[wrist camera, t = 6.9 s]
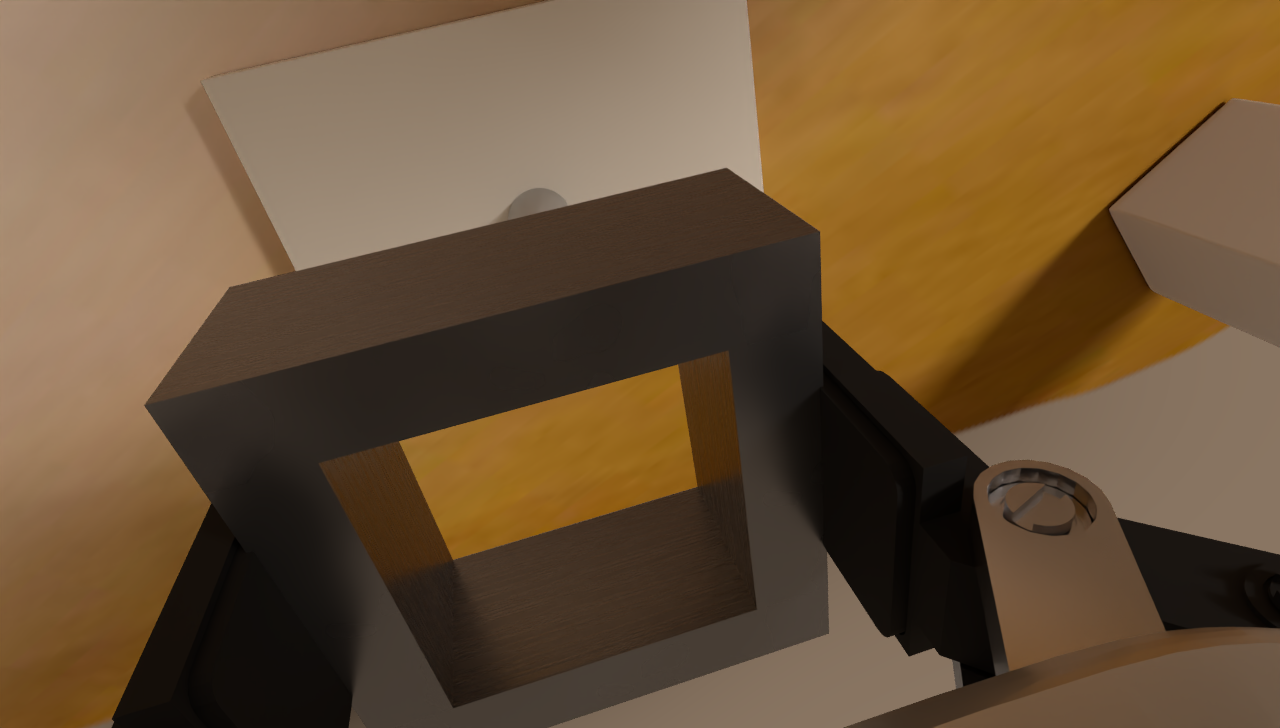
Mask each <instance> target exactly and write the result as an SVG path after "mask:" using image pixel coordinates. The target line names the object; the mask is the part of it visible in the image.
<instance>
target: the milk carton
mask: <svg viewBox="0 0 1280 728" xmlns="http://www.w3.org/2000/svg"><path fill="white" fill-rule="evenodd" d="M1109 211H1110V214H1111V216H1112V218H1113V220H1114V222H1115V224H1116V225H1117V227H1118V229H1119V231H1120V233H1121V235H1122V237H1123V239H1124V241H1125V242H1126V244H1127V246H1128V248H1129V250H1130V252H1131V254H1132V256H1133V257H1134V259H1135V261H1136V263H1137V265H1138V267H1139V269H1140V271H1141V273H1142V274H1143V276H1144V278H1145V280H1146V282H1147V284H1148V286H1149V287H1150V289H1151V290H1152V291H1153V292H1155V293H1158V294H1160V295H1162V296H1164V297H1167V298H1169V299H1171V300H1173V301H1176V302H1178V303H1180V304H1182V305H1185V306H1187V307H1189V308H1191V309H1194V310H1196V311H1198V312H1200V313H1203V314H1205V315H1207V316H1209V317H1212V318H1214V319H1216V320H1219V321H1221V322H1223V323H1225V324H1228V325H1230V326H1232V327H1234V328H1237V329H1239V330H1241V331H1244V332H1246V333H1248V334H1250V335H1252V336H1255V337H1257V338H1259V339H1262V340H1264V341H1266V342H1268V343H1271V344H1273V345H1275V346H1277V347H1280V105H1277V104H1270V103H1263V102H1256V101H1250V100H1243V99H1235V98H1233V99H1231V100H1229V101H1228V102H1227V103H1226V104H1225V105H1224V106H1223V107H1221V108H1220V109H1219V110H1218V111H1217V112H1216V113H1215V114H1214V115H1212V116H1211V117H1210V118H1209V119H1208V120H1207V121H1206V122H1205V123H1204V124H1202V125H1201V126H1200V127H1199V128H1198V129H1197V130H1196V131H1195V132H1193V133H1192V134H1191V135H1190V136H1189V137H1188V138H1187V139H1186V140H1185V141H1183V142H1182V143H1181V144H1180V145H1179V146H1178V147H1177V148H1176V149H1174V150H1173V151H1172V152H1171V153H1170V154H1169V155H1168V156H1167V157H1166V158H1164V159H1163V160H1162V161H1161V162H1160V163H1159V164H1158V165H1157V166H1156V167H1154V168H1153V169H1152V170H1151V171H1150V172H1149V173H1148V174H1147V175H1146V176H1144V177H1143V178H1142V179H1141V180H1140V181H1139V182H1138V183H1137V184H1136V185H1134V186H1133V187H1132V188H1131V189H1130V190H1129V191H1128V192H1127V193H1126V194H1124V195H1123V196H1122V197H1121V198H1120V199H1119V200H1118V201H1117V202H1116V203H1115V204H1113V205H1112V206H1111V207H1110V208H1109Z"/></svg>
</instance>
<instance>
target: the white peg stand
mask: <svg viewBox="0 0 1280 728" xmlns="http://www.w3.org/2000/svg"><path fill="white" fill-rule="evenodd" d="M201 83H202V85H203V87H204V89H205V91H206V93H207V95H208V97H209V99H210V101H211V103H212V105H213V107H214V109H215V111H216V113H217V115H218V117H219V119H220V121H221V123H222V125H223V127H224V129H225V131H226V133H227V135H228V137H229V139H230V141H231V143H232V145H233V147H234V149H235V151H236V153H237V155H238V157H239V159H240V161H241V163H242V165H243V167H244V169H245V171H246V173H247V175H248V177H249V179H250V181H251V183H252V185H253V187H254V189H255V191H256V193H257V195H258V197H259V199H260V201H261V203H262V205H263V207H264V209H265V210H266V212H267V214H268V216H269V218H270V220H271V222H272V224H273V226H274V228H275V230H276V232H277V234H278V236H279V238H280V240H281V242H282V244H283V246H284V248H285V250H286V252H287V254H288V256H289V258H290V260H291V262H292V264H293V266H294V268H295V270H296V271H299V270H303V269H307V268H312V267H316V266H320V265H324V264H328V263H332V262H336V261H341V260H345V259H349V258H353V257H357V256H361V255H366V254H370V253H374V252H378V251H382V250H386V249H391V248H395V247H399V246H403V245H407V244H411V243H415V242H420V241H424V240H428V239H432V238H436V237H440V236H445V235H449V234H453V233H457V232H461V231H465V230H470V229H474V228H478V227H482V226H486V225H490V224H494V223H499V222H503V221H507V220H511V219H515V218H519V217H524V216H528V215H532V214H536V213H540V212H544V211H549V210H553V209H557V208H561V207H565V206H569V205H573V204H578V203H582V202H586V201H590V200H594V199H598V198H603V197H607V196H611V195H615V194H619V193H623V192H628V191H632V190H636V189H640V188H644V187H648V186H652V185H657V184H661V183H665V182H669V181H673V180H677V179H682V178H686V177H690V176H694V175H698V174H702V173H707V172H711V171H715V170H719V169H723V168H728V169H729V170H731V171H732V172H734V173H735V174H737V175H738V176H740V177H741V178H743V179H744V180H746V181H747V182H748V183H750V184H751V185H753V186H754V187H756V188H757V189H759V190H760V191H762V192H763V193H764V191H763V179H762V168H761V157H760V145H759V134H758V123H757V111H756V100H755V89H754V77H753V66H752V55H751V43H750V32H749V20H748V9H747V0H547V1H542V2H538V3H533V4H529V5H525V6H520V7H516V8H511V9H507V10H502V11H498V12H494V13H489V14H485V15H480V16H476V17H472V18H467V19H463V20H458V21H454V22H449V23H445V24H441V25H436V26H432V27H427V28H423V29H419V30H414V31H410V32H405V33H401V34H396V35H392V36H388V37H383V38H379V39H374V40H370V41H366V42H361V43H357V44H352V45H348V46H343V47H339V48H335V49H330V50H326V51H321V52H317V53H313V54H308V55H304V56H299V57H295V58H290V59H286V60H282V61H277V62H273V63H268V64H264V65H260V66H255V67H251V68H246V69H242V70H237V71H233V72H229V73H224V74H220V75H215V76H211V77H209V78H206V79H204V80H201Z"/></svg>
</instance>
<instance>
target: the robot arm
mask: <svg viewBox="0 0 1280 728" xmlns="http://www.w3.org/2000/svg"><path fill="white" fill-rule="evenodd" d="M822 347H823V387H820V417H821V454H822V491H823V528H824V547H825V549H826V550H827V552H828V553H829V555H830V557H831V558H832V559H833V561H834V563H835V564H836V566H837V567H838V569H839V570H840V572H841V573H842V575H843V576H844V578H845V579H846V581H847V583H848V584H849V586H850V587H851V588H852V590H853V592H854V593H855V595H856V596H857V598H858V599H859V601H860V602H861V604H862V606H863V607H864V609H865V610H866V612H867V613H868V615H869V616H870V618H871V619H872V621H873V622H874V624H875V626H876V627H877V629H878V630H879V631H880V632H881V634H882V635H884V636H885V637H890V636H893V635H895V637H896V638H897V639H898V641H899V642H900V644H901V645H902V647H903V648H904V650H905V651H906V653H907V654H908V656H912V655H915V654H917V653H920V652H923V651H926V650H929V649H932V648H935V649H936V651H937V652H938V654H939V655H941V656H944V657H947V658H949V659H952V662H953V669H954V676H955V684H956V689H955V690H952V691H949V692H946V693H943V694H939V695H937V696H934V697H931V698H928V699H925V700H922V701H919V702H916V703H913V704H911V705H907V706H905V707H902V708H899V709H896V710H893V711H890V712H887V713H884V714H882V715H879V716H876V717H873V718H870V719H867V720H864V721H861V722H858V723H856V724H853V725H850V726H847V727H844V728H1280V555H1279V554H1274V553H1270V552H1266V551H1261V550H1257V549H1252V548H1248V547H1243V546H1239V545H1235V544H1230V543H1226V542H1221V541H1217V540H1213V539H1208V538H1204V537H1199V536H1195V535H1191V534H1187V533H1182V532H1178V531H1173V530H1169V529H1165V528H1160V527H1156V526H1152V525H1147V524H1143V523H1138V522H1134V521H1130V520H1125V519H1121V518H1117V517H1116V514H1115V512H1114V510H1113V507H1112V505H1111V503H1110V502H1109V500H1108V499H1107V497H1106V496H1105V494H1104V493H1103V491H1102V490H1101V489H1100V488H1098V487H1097V486H1096V485H1095V484H1094V483H1092V482H1091V481H1090V480H1089V479H1088V478H1086V477H1084V476H1082V475H1080V474H1078V473H1076V472H1074V471H1072V470H1071V469H1069V468H1065V467H1062V466H1059V465H1056V464H1052V463H1049V462H1042V461H1035V460H1010V461H1006V462H1002V463H998V464H995V465H992V466H991V467H989V466H987V465H986V464H985V463H984V462H983V461H982V460H981V459H980V458H978V457H977V456H976V455H975V454H974V453H973V452H972V451H971V450H970V449H969V448H968V447H967V446H966V445H964V444H963V443H962V442H961V441H960V440H959V439H958V438H957V437H956V436H955V435H953V434H952V433H951V432H950V431H949V430H948V429H947V428H946V427H945V426H944V425H942V424H941V423H940V422H939V421H938V420H937V419H936V418H935V417H934V416H933V415H931V414H930V413H929V412H928V411H927V410H926V409H925V408H924V407H923V406H922V405H921V404H919V403H918V402H917V401H916V400H915V399H914V398H913V397H912V396H911V395H910V394H908V393H907V392H906V391H905V390H904V389H903V388H902V387H901V386H900V385H899V384H897V383H896V382H895V381H894V380H893V379H892V378H891V377H890V376H888V375H887V374H885V373H884V372H882V371H876V370H875V369H874V368H873V367H872V366H870V365H869V364H868V363H867V362H866V361H865V360H864V359H863V358H862V357H861V356H860V355H859V354H858V353H856V352H855V351H854V350H853V349H852V348H851V347H850V346H849V345H848V344H847V343H846V342H845V341H844V340H842V339H841V338H840V337H839V336H838V335H837V334H836V333H835V332H834V331H833V330H832V329H831V328H829V327H828V326H827V325H826V324H825V323H824V322H823V321H822ZM352 699H353V696H352V695H351V693H350V692H349V690H348V689H347V688H346V686H345V685H344V683H343V682H342V680H341V679H340V677H339V676H338V674H337V673H336V671H335V670H334V668H333V667H332V666H331V664H330V663H329V661H328V660H327V658H326V657H325V655H324V654H323V652H322V651H321V649H320V648H319V646H318V645H317V644H316V642H315V641H314V639H313V638H312V636H311V635H310V633H309V632H308V630H307V629H306V627H305V626H304V624H303V623H302V622H301V620H300V619H299V617H298V616H297V614H296V613H295V611H294V610H293V608H292V607H291V605H290V604H289V603H288V601H287V600H286V598H285V597H284V595H283V594H282V592H281V591H280V589H279V588H278V586H277V585H276V583H275V582H274V581H273V579H272V578H271V576H270V575H269V573H268V572H267V570H266V569H265V567H264V566H263V564H262V563H261V561H260V560H259V559H258V557H257V556H256V554H255V553H254V551H251V552H247V553H246V552H245V551H244V549H243V548H242V546H241V545H240V543H239V542H238V540H237V539H236V538H235V536H234V535H233V533H232V532H231V530H230V529H229V527H228V526H227V524H226V523H225V522H224V520H223V519H222V517H221V516H220V514H219V513H218V511H217V510H216V509H215V507H214V506H213V504H212V503H211V505H210V508H209V510H208V512H207V514H206V516H205V518H204V521H203V523H202V525H201V527H200V529H199V531H198V534H197V536H196V538H195V540H194V542H193V544H192V547H191V549H190V551H189V553H188V555H187V557H186V560H185V562H184V564H183V566H182V568H181V570H180V573H179V575H178V577H177V579H176V581H175V583H174V586H173V588H172V590H171V592H170V594H169V596H168V599H167V601H166V603H165V605H164V607H163V609H162V612H161V614H160V616H159V618H158V620H157V622H156V625H155V627H154V629H153V631H152V633H151V635H150V638H149V640H148V642H147V644H146V646H145V648H144V651H143V653H142V655H141V657H140V659H139V661H138V664H137V666H136V668H135V670H134V672H133V674H132V677H131V679H130V681H129V683H128V685H127V687H126V690H125V692H124V694H123V696H122V698H121V700H120V703H119V705H118V707H117V709H116V711H115V713H114V716H113V718H112V720H113V721H114V724H113V726H112V728H348V727H349V720H350V713H351V706H352Z"/></svg>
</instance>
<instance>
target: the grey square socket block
mask: <svg viewBox="0 0 1280 728" xmlns="http://www.w3.org/2000/svg"><path fill="white" fill-rule="evenodd" d="M677 364H678V366H679V373H680V379H681V385H682V391H683V398H684V404H685V410H686V417H687V423H688V429H689V436H690V442H691V448H692V454H693V461H694V467H695V473H696V480H697V486H698V487H696V488H692V489H689V490H686V491H682V492H679V493H676V494H672V495H669V496H666V497H662V498H659V499H656V500H652V501H649V502H646V503H642V504H639V505H636V506H632V507H629V508H626V509H622V510H619V511H616V512H612V513H609V514H606V515H602V516H599V517H596V518H592V519H589V520H585V521H582V522H579V523H575V524H572V525H569V526H565V527H562V528H559V529H555V530H552V531H549V532H545V533H542V534H539V535H535V536H532V537H529V538H525V539H522V540H519V541H515V542H512V543H509V544H505V545H502V546H499V547H495V548H492V549H489V550H485V551H482V552H479V553H475V554H472V555H468V556H465V557H462V558H458V559H455V560H453V559H452V557H451V555H450V553H449V550H448V548H447V546H446V544H445V542H444V539H443V537H442V535H441V533H440V531H439V528H438V526H437V524H436V522H435V520H434V517H433V515H432V513H431V511H430V509H429V506H428V504H427V502H426V500H425V498H424V496H423V493H422V491H421V489H420V487H419V485H418V482H417V480H416V478H415V476H414V474H413V471H412V469H411V467H410V465H409V463H408V460H407V458H406V456H405V454H404V452H403V449H402V447H401V445H400V443H399V441H401V440H405V439H408V438H412V437H416V436H419V435H423V434H427V433H430V432H434V431H438V430H441V429H445V428H448V427H452V426H456V425H459V424H463V423H467V422H470V421H474V420H477V419H481V418H485V417H488V416H492V415H496V414H499V413H503V412H507V411H510V410H514V409H517V408H521V407H525V406H528V405H532V404H536V403H539V402H543V401H547V400H550V399H554V398H557V397H561V396H565V395H568V394H572V393H576V392H579V391H583V390H587V389H590V388H594V387H597V386H601V385H605V384H608V383H612V382H616V381H619V380H623V379H627V378H630V377H634V376H637V375H641V374H645V373H648V372H652V371H656V370H659V369H663V368H667V367H670V366H674V365H677ZM820 387H823V347H822V302H821V257H820V231H818V230H817V229H815V228H814V227H813V226H811V225H810V224H808V223H807V222H805V221H804V220H802V219H801V218H799V217H798V216H797V215H795V214H794V213H792V212H791V211H789V210H788V209H786V208H785V207H783V206H782V205H780V204H779V203H778V202H776V201H775V200H773V199H772V198H770V197H769V196H767V195H766V194H764V193H763V192H762V191H760V190H759V189H757V188H756V187H754V186H753V185H751V184H750V183H748V182H747V181H746V180H744V179H743V178H741V177H740V176H738V175H737V174H735V173H734V172H732V171H731V170H729V169H728V168H723V169H719V170H715V171H711V172H707V173H702V174H698V175H694V176H690V177H686V178H682V179H677V180H673V181H669V182H665V183H661V184H657V185H652V186H648V187H644V188H640V189H636V190H632V191H628V192H623V193H619V194H615V195H611V196H607V197H603V198H598V199H594V200H590V201H586V202H582V203H578V204H573V205H569V206H565V207H561V208H557V209H553V210H549V211H544V212H540V213H536V214H532V215H528V216H524V217H519V218H515V219H511V220H507V221H503V222H499V223H494V224H490V225H486V226H482V227H478V228H474V229H470V230H465V231H461V232H457V233H453V234H449V235H445V236H440V237H436V238H432V239H428V240H424V241H420V242H415V243H411V244H407V245H403V246H399V247H395V248H391V249H386V250H382V251H378V252H374V253H370V254H366V255H361V256H357V257H353V258H349V259H345V260H341V261H336V262H332V263H328V264H324V265H320V266H316V267H312V268H307V269H303V270H299V271H295V272H291V273H287V274H282V275H278V276H274V277H270V278H266V279H262V280H257V281H253V282H249V283H245V284H241V285H237V286H233V287H229V289H228V290H227V291H226V293H225V294H224V296H223V297H222V298H221V300H220V301H219V302H218V304H217V305H216V307H215V308H214V309H213V311H212V312H211V314H210V315H209V316H208V318H207V319H206V320H205V322H204V323H203V325H202V326H201V327H200V329H199V330H198V332H197V333H196V334H195V336H194V337H193V338H192V340H191V341H190V343H189V344H188V345H187V347H186V348H185V350H184V351H183V352H182V354H181V355H180V356H179V358H178V359H177V361H176V362H175V363H174V365H173V366H172V368H171V369H170V370H169V372H168V373H167V374H166V376H165V377H164V379H163V380H162V381H161V383H160V384H159V386H158V387H157V388H156V390H155V391H154V392H153V394H152V395H151V397H150V398H149V399H148V401H147V402H146V404H145V405H144V406H145V407H146V409H147V410H148V411H149V413H150V414H151V416H152V417H153V419H154V420H155V422H156V423H157V424H158V426H159V427H160V429H161V430H162V432H163V433H164V435H165V436H166V438H167V439H168V440H169V442H170V443H171V445H172V446H173V448H174V449H175V451H176V452H177V453H178V455H179V456H180V458H181V459H182V461H183V462H184V464H185V465H186V467H187V468H188V469H189V471H190V472H191V474H192V475H193V477H194V478H195V480H196V481H197V482H198V484H199V485H200V487H201V488H202V490H203V491H204V493H205V494H206V495H207V497H208V498H209V500H210V501H211V503H212V504H213V506H214V507H215V509H216V510H217V511H218V513H219V514H220V516H221V517H222V519H223V520H224V522H225V523H226V524H227V526H228V527H229V529H230V530H231V532H232V533H233V535H234V536H235V538H236V539H237V540H238V542H239V543H240V545H241V546H242V548H243V549H244V551H245V552H246V553H247V552H251V551H254V553H255V554H256V556H257V557H258V559H259V560H260V561H261V563H262V564H263V566H264V567H265V569H266V570H267V572H268V573H269V575H270V576H271V578H272V579H273V581H274V582H275V583H276V585H277V586H278V588H279V589H280V591H281V592H282V594H283V595H284V597H285V598H286V600H287V601H288V603H289V604H290V605H291V607H292V608H293V610H294V611H295V613H296V614H297V616H298V617H299V619H300V620H301V622H302V623H303V624H304V626H305V627H306V629H307V630H308V632H309V633H310V635H311V636H312V638H313V639H314V641H315V642H316V644H317V645H318V646H319V648H320V649H321V651H322V652H323V654H324V655H325V657H326V658H327V660H328V661H329V663H330V664H331V666H332V667H333V668H334V670H335V671H336V673H337V674H338V676H339V677H340V679H341V680H342V682H343V683H344V685H345V686H346V688H347V689H348V690H349V692H350V693H351V695H352V696H353V699H352V707H353V709H354V710H355V711H356V713H357V714H358V716H359V717H360V719H361V720H362V722H363V723H364V725H365V726H366V727H367V728H548V727H551V726H554V725H557V724H560V723H563V722H566V721H569V720H572V719H575V718H578V717H581V716H584V715H587V714H590V713H593V712H596V711H599V710H602V709H605V708H608V707H611V706H614V705H617V704H619V703H623V702H626V701H628V700H632V699H634V698H637V697H641V696H643V695H647V694H650V693H652V692H655V691H658V690H661V689H664V688H668V687H670V686H673V685H676V684H679V683H682V682H685V681H688V680H691V679H694V678H697V677H700V676H703V675H706V674H709V673H712V672H715V671H718V670H721V669H724V668H727V667H730V666H733V665H736V664H739V663H742V662H745V661H748V660H751V659H754V658H757V657H760V656H763V655H766V654H769V653H772V652H775V651H778V650H781V649H784V648H787V647H790V646H793V645H796V644H799V643H802V642H804V641H808V640H811V639H814V638H816V637H820V636H823V635H826V634H829V619H828V575H827V550H826V549H825V547H824V528H823V491H822V454H821V417H820Z"/></svg>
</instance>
